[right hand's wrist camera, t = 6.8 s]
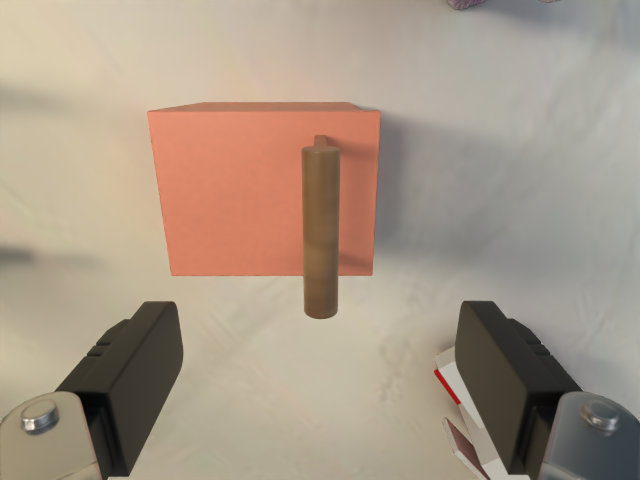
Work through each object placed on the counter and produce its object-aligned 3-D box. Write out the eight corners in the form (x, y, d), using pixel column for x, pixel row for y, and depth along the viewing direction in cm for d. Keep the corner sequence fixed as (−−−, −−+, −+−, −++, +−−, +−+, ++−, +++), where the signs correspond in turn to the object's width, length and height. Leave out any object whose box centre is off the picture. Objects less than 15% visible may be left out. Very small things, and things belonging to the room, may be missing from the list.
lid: (378, 110, 23) (406, 121, 16) (370, 269, 27) (390, 339, 19) (153, 110, 23) (75, 122, 16) (176, 269, 27) (121, 340, 19)
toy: (555, 347, 30) (719, 607, 35) (495, 283, 43) (621, 479, 48) (416, 418, 33) (586, 650, 38) (399, 338, 46) (527, 519, 51)
